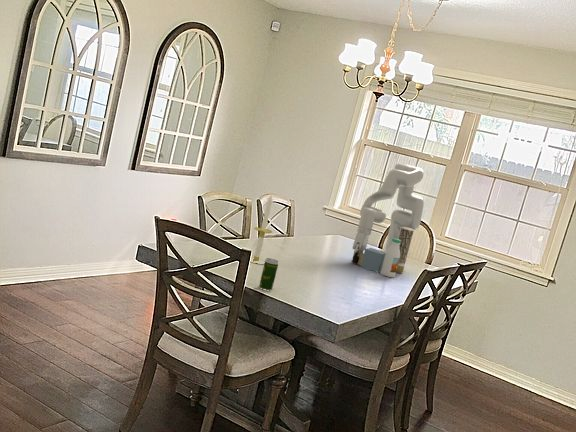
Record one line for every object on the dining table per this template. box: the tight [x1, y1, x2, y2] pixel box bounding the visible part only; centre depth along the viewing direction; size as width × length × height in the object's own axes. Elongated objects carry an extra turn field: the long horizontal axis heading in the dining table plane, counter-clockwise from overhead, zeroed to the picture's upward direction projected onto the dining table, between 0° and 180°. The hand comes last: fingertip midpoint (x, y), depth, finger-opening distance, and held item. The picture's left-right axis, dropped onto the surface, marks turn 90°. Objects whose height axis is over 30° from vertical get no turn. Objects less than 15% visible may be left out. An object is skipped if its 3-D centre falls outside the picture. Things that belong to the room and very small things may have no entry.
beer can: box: [258, 257, 279, 291], centre depth 266 cm, size 5×5×12 cm
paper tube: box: [396, 227, 415, 274], centre depth 373 cm, size 7×7×25 cm
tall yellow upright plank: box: [351, 251, 364, 266], centre depth 368 cm, size 1×12×6 cm, turn 65°
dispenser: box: [360, 247, 386, 273], centre depth 365 cm, size 10×10×10 cm
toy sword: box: [253, 193, 273, 262], centre depth 311 cm, size 10×10×32 cm
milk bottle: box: [380, 238, 401, 278], centre depth 356 cm, size 8×8×20 cm
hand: (356, 262), depth 370 cm, fingers open, 3 cm apart
